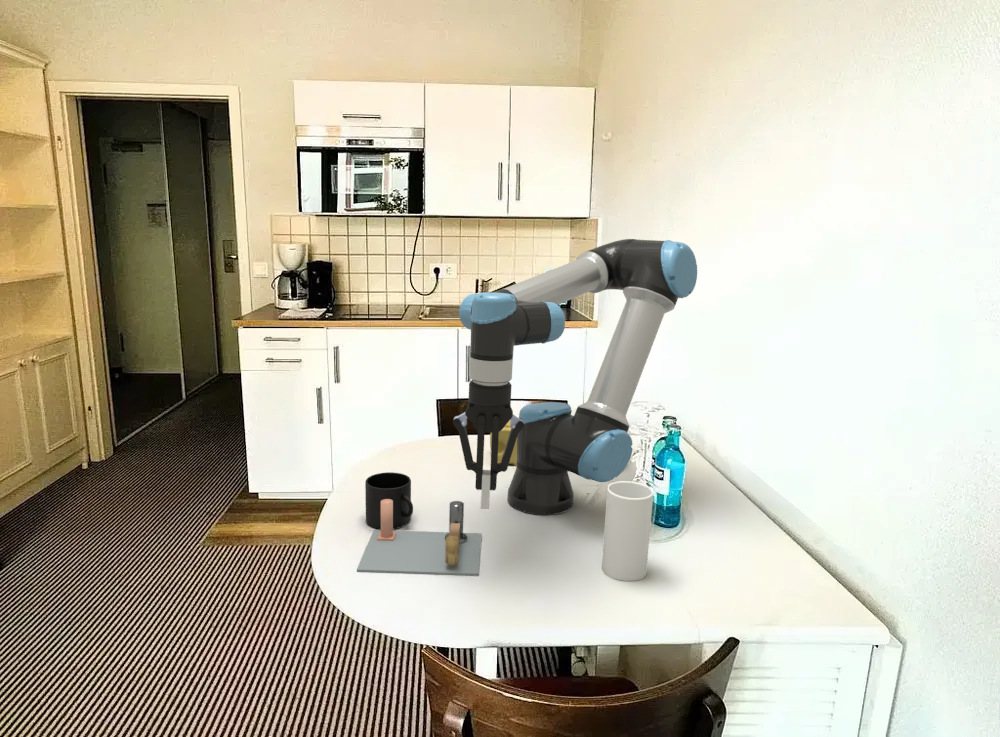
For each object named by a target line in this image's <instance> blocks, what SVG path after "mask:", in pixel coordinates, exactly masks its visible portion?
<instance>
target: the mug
mask: <svg viewBox="0 0 1000 737" xmlns="http://www.w3.org/2000/svg"><path fill="white" fill-rule="evenodd" d="M364 489H365V494H364V495H365V521H366V524H367V525H368V526H369V527H370V528H374V529H376V530H381V500H383V499H391V500H393V530H396V529H400V528H402V527H405V526H406V525H408V524H409V523H410V521H411V519H412V518H411V517H412V515H413V513H414V505H413V502H412V480H411V478H410V477H409V476H408V475H406V474H404V473H401V472H392V471H391V472H380V473H379V472H378V473H376V474H372V475H370V476H368V477H367V478H366V479H365V486H364Z"/></svg>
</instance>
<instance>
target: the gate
mask: <svg viewBox="0 0 1000 737" xmlns="http://www.w3.org/2000/svg"><path fill="white" fill-rule="evenodd" d="M448 532H449V537H447V538H446V551H445V563H446V564H448V565H456V564H457V563H458V558H459V542H460V523H451V526H450V531H449V530H448Z"/></svg>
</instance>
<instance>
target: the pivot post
mask: <svg viewBox="0 0 1000 737" xmlns="http://www.w3.org/2000/svg"><path fill="white" fill-rule="evenodd" d="M464 508H465V503H464V502H463V501H460V500H453V501H451V502H449V513H448V514H449V516H448V521H449V523H448V532H449V531H450V526H451V523H460V542H459V544H463V543H465V542H466V541H467V535H466V534H465V533H466V532H464V515H465V514H464V513H465V512H464V511H465V510H464ZM447 537H449V533H447V534H446V535H445V541H446V538H447Z"/></svg>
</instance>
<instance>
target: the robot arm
mask: <svg viewBox="0 0 1000 737" xmlns="http://www.w3.org/2000/svg"><path fill="white" fill-rule="evenodd" d="M696 259H697V258H696V255H695V253H694V250H692V248H691V247H690V246H689V245H688V244H687V243H684V242H681V241H673V240H670V239H667V240H657V239H655V240H653V239H651V240H649V239H636V238H635V239H634V238H626V239H618V240H615V241H612V242H608V243H606V244H602V245H599V246H598V247H597V246H596V247H595V248H592V249H589V250H587V251H584V252H582V253H580V254H579V255H578V257H577V258H576V260H574V261H571V262H568V263H565V264H563V265H560V266H558V267H555V268H553V269H551V270H548V271H545V272H542V273H540V274H537V275H535V276H533V277H529V278H527V279H524V280H522V281H519V282H517V283H515V284H512V285H509V286H507V287H505V288H504V287H503V288H502V289H499V290H495V291H493V292H486V291H485V292H479V293H471V294H468V295H466V296H465V297H464V298H463V300H462V302H461V303H460V306H459V309H458V310H459V311H458V314H459V320H460V322H461V324H462V326H463V327H464V328H466V329H468V330H470V354H469V355H470V356H469V374H468V375H469V379H470V381H469V383H468V404H467V406H466V407H465V411H464V412H463V413H461V414H459V415H455V416H454V417H453V420H452V424H453V425H454V427H455V429H456V430H457V432H458V436H459V440H460V444H461V451H462V454H463V460H464V464H465V468H466V469H467V471H473V472H474V473H475V485H474V486H475V490H477V491H479V490H480V491H481V496H480V509H483V510H489V509H490V495H491V491H496V489H497V479H498V478H497V476H498V474H499V473H502V472H504V473H505V472H506V471H507V470H508V467H509V461H510V458H511V455H512V452H513V448H514V445H515V442H516V439H517V466H516V468H515V471H514V473H513V476H512V479H511V481H510V484H509V487H508V490H507V502H508V504H509V505H510V506H511V507H512V508H514V509H516V510H519V511H521V512H524V513H527V514H532V515H543V516H546V515H548V516H549V515H557V514H558V515H559V514H561V513H564V512H567V511H568V510H570V509H571V508H572V507H573V506H574V496H575V495H574V490H573V487H572V483H571V479H570V475H569V473H568V472H570V473H572V474H574V475H577V476H580V477H581V478H582V479H583V478H584V479H586V480H589V481H593V482H594V481H595V482H597V483H607V482H610V481H612V480H614V479H615V478H617V477H618V476H620V475H621V474H622V473H623V472H624V470H625V469H626V467H627V466H628V464H629V462H630V459H631V457H632V454H633V447H632V446H633V439H632V437H631V436H630V434H629V433H628V431H629V429H630V423H629V422H628V419H627V413H628V410H629V408H630V405H631V403H632V400H633V398H634V395H635V392H636V389H637V387H638V384H639V382H640V379H641V377H642V375H643V371H644V369H645V365H646V364H647V360H648V358H649V356H650V353H651V351H652V347H653V345H654V342H655V339H656V337H657V335H658V332H659V328H660V326H661V324H662V322H663V319H664V316H665V314H666V313H669V312H671V311H674V309H675V307H676V304H677V302H678V299H684V298H687V297H688V296H690V295H691V294H692V293H693V291H694V290H695V287H696V284H697V279H698V264H697V260H696ZM606 290H607V291H608V290H615V291H616V290H619V291H622V294H623V295H624V297H625V299H626V300H625V304H624V307H623V309H622V311H621V314H620V316H619V319H618V322H617V324H616V327H615V330H614V332H613V334H612V337H611V340H610V342H609V345H608V348H607V350H606V352H605V355H604V357H603V359H602V360H603V361H602V363H601V365H600V368H599V370H598V374H597V376H596V379H595V380H594V384H593V386H592V388H591V392H590V394H589V397H588V399H587V401H585V402H583V403H582V404H580V405H579V404H578V405H577V407H576V410H575V411H574V412H575V413H574V415H572V412H573V410H572V407H571V405H570V404H568V403H565V402H559V401H558V402H556V401H555V402H554V401H547V402H534V403H530V404H526V405H524V406H523V407H522V408H521V409H520V410H519V413H518V417H517V416H516V415H515V414H514V413H513V412H514V411H513V409H512V407H511V404H512V402H511V401H512V400H511V399H512V386H513V385H512V384H511V382H510V381H511V380H512V379H513V364H514V363H513V362H514V350H515V349H514V347H515V346H522V345H523V346H524V345H535V344H546V343H550V342H554V341H556V340H558V339H559V338H560V337H562V334H564V332H565V327H566V326H565V325H566V316H565V313H564V311H563V309H562V308H561V307H560V306H559V305H561V304H563V303H566V302H568V301H570V300H573V299H575V298H577V297H580V296H582V295H585V294H587V293H590V294H591V293H592V294H597V293H600V292H603V291H606ZM467 419H468V420H467ZM468 421H469V422H470V424H471V425H472V426H473V428H474V429H475V431H477V437H476V438H477V439H476V440H477V441H476V461H474V459H473V458H474V457H473V453H472V449H471V446H470V445H471V444H470V440H469V439H470V438H469V434H468V430H467V425H468ZM509 421H511V423H510V427H511V431H510V434H509V437H508V441H507V444H506V447H505V451H504V454H503V457H502V460H501V463H497V462H498V439H499V431H501V430H502V429H503V428H504V426H505V425H506V424H507V423H508V422H509ZM490 432H491V433H492V445H491V448H490V469H484V457H485V455H484V450H485V435H486V434H485V433H490Z"/></svg>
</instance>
